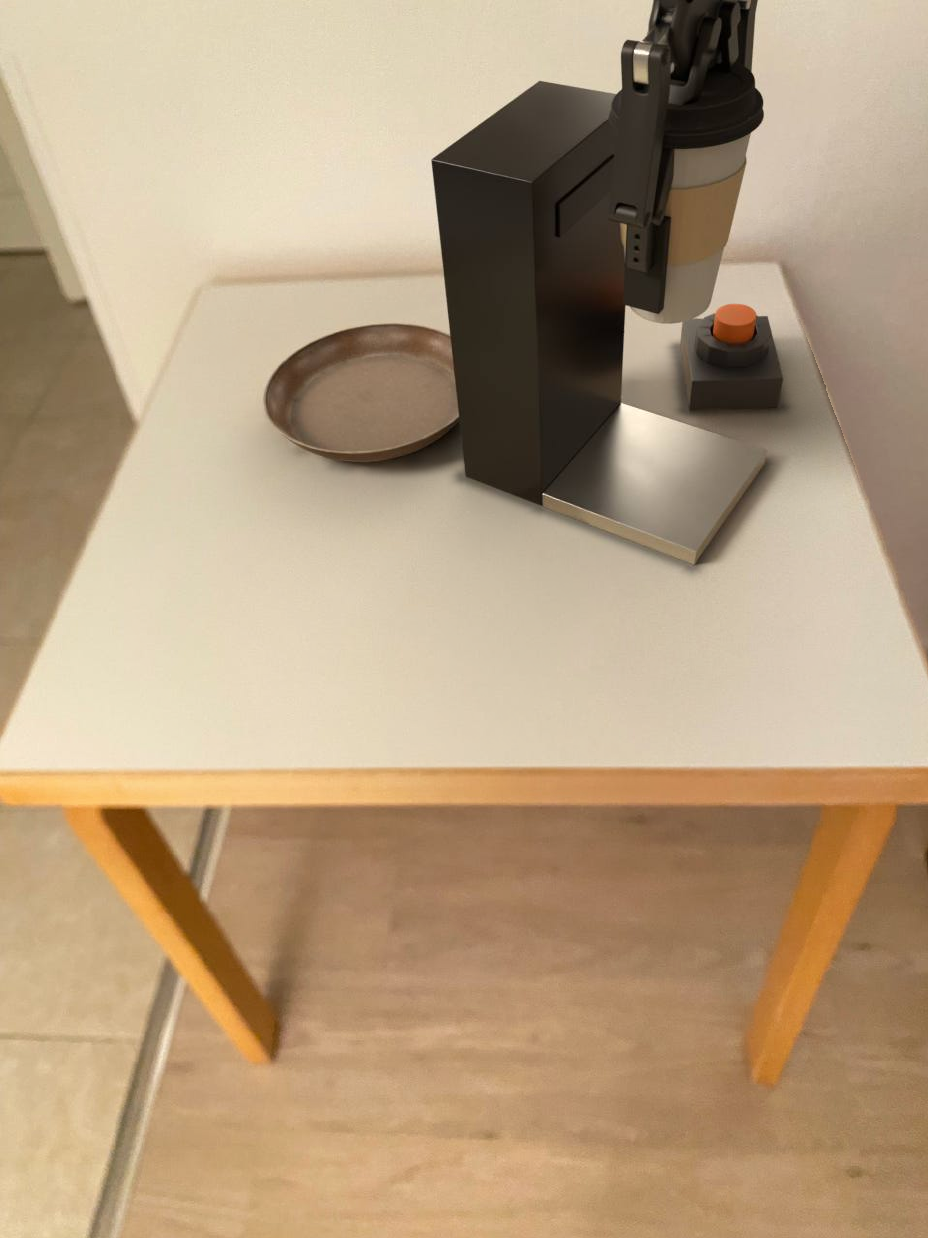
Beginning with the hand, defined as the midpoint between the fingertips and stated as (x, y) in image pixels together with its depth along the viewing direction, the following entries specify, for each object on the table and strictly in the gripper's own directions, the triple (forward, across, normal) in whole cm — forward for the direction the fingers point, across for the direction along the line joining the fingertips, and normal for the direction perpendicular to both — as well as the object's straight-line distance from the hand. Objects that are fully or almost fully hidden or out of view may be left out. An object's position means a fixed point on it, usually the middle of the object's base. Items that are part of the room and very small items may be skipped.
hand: (672, 275), depth 69 cm
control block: (+20, -17, -1) cm, 26 cm away
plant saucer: (+20, +3, -28) cm, 34 cm away
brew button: (+15, -17, -1) cm, 23 cm away
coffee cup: (+2, 0, 0) cm, 2 cm away
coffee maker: (+20, 0, -4) cm, 20 cm away
